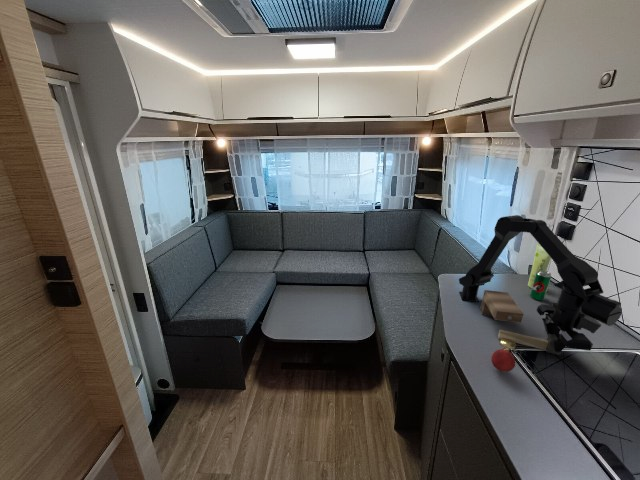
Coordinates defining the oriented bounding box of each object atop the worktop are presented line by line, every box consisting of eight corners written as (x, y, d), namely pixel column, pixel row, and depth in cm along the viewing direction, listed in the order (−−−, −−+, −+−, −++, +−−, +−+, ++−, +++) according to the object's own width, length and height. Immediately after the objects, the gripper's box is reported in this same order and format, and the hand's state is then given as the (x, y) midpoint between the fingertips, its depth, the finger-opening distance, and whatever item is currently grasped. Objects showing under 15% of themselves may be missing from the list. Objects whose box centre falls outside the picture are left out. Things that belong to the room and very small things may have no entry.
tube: (525, 287, 131) (537, 247, 124) (526, 282, 134) (537, 243, 128) (541, 291, 128) (554, 250, 121) (541, 286, 131) (553, 246, 125)
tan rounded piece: (498, 340, 98) (499, 336, 97) (513, 343, 96) (514, 340, 96) (500, 349, 94) (501, 345, 94) (516, 352, 93) (517, 348, 92)
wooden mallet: (497, 334, 100) (500, 322, 98) (557, 348, 93) (562, 336, 91) (498, 340, 97) (502, 328, 95) (560, 355, 91) (565, 342, 89)
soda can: (546, 301, 120) (554, 275, 115) (532, 300, 121) (540, 274, 116) (540, 295, 124) (548, 270, 120) (527, 293, 125) (534, 268, 121)
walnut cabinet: (479, 310, 114) (484, 290, 111) (502, 312, 112) (507, 292, 109) (492, 334, 100) (498, 312, 97) (518, 338, 99) (524, 315, 95)
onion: (493, 377, 83) (499, 354, 80) (485, 362, 88) (491, 340, 86) (515, 379, 82) (522, 357, 80) (506, 364, 88) (512, 342, 85)
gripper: (624, 328, 76) (604, 374, 82) (581, 292, 93) (566, 332, 99) (575, 323, 78) (558, 367, 84) (542, 288, 96) (530, 327, 101)
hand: (554, 347), depth 92 cm, fingers closed on wooden mallet, 3 cm apart
